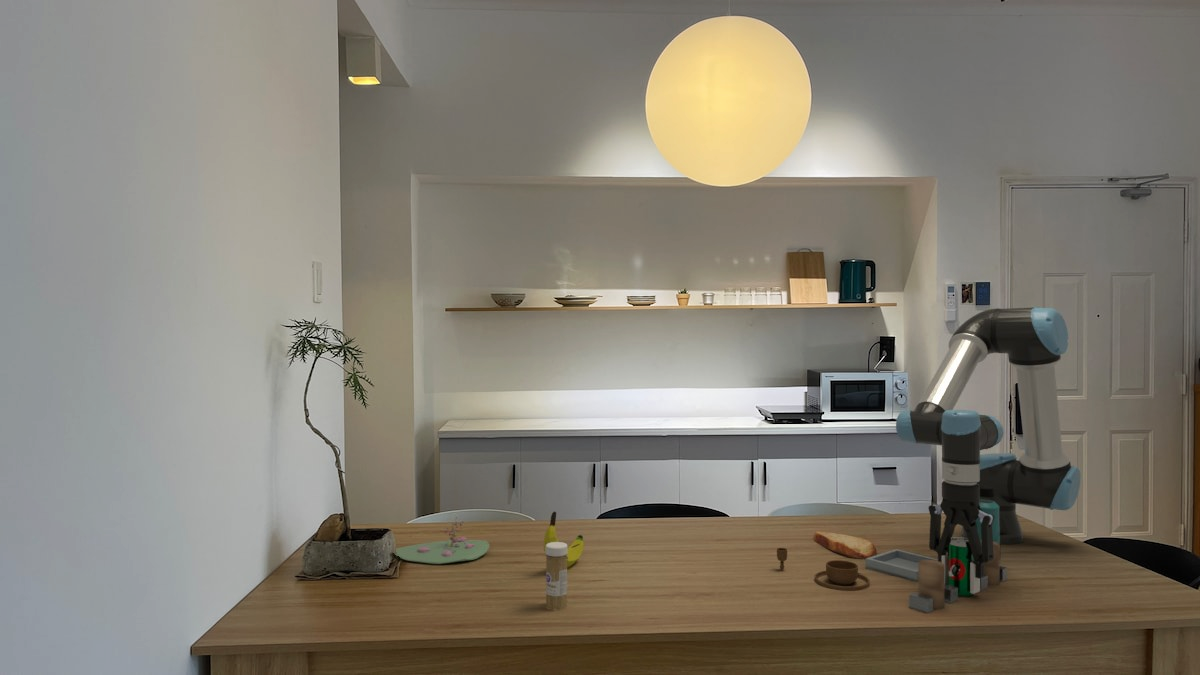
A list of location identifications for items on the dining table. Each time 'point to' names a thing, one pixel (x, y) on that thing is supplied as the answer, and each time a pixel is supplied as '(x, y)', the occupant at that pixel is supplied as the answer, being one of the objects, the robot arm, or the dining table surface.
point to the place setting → (833, 573)
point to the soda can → (959, 565)
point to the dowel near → (931, 581)
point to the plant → (445, 550)
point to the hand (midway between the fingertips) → (960, 587)
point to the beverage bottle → (989, 508)
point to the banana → (550, 536)
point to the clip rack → (947, 594)
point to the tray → (897, 564)
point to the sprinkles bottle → (556, 576)
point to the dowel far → (993, 566)
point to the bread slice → (846, 545)
